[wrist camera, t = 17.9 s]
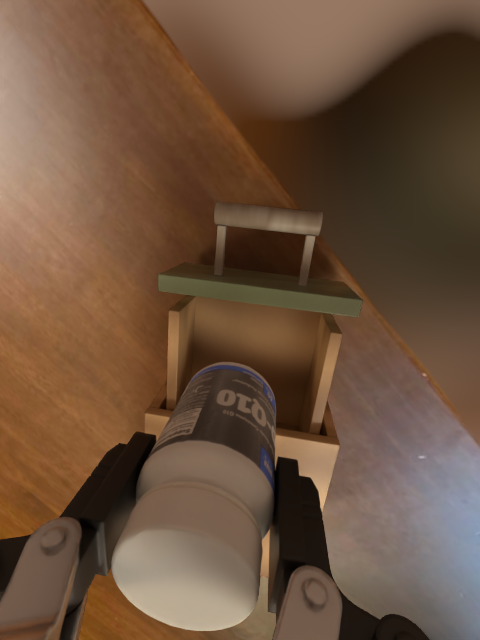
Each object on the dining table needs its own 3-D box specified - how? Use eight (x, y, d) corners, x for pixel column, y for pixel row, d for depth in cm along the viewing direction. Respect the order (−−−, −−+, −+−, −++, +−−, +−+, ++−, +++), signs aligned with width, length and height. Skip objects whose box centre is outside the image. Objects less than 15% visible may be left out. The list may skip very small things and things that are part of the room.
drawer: (186, 199, 24) (158, 193, 18) (358, 217, 23) (384, 217, 17) (178, 406, 30) (156, 447, 25) (311, 427, 29) (319, 476, 23)
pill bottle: (294, 406, 15) (315, 609, 7) (228, 451, 17) (185, 661, 9) (232, 340, 14) (179, 486, 7) (168, 393, 16) (61, 565, 8)
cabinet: (176, 366, 30) (144, 412, 22) (324, 388, 28) (340, 445, 21) (172, 484, 35) (145, 553, 28) (297, 507, 34) (303, 585, 26)
